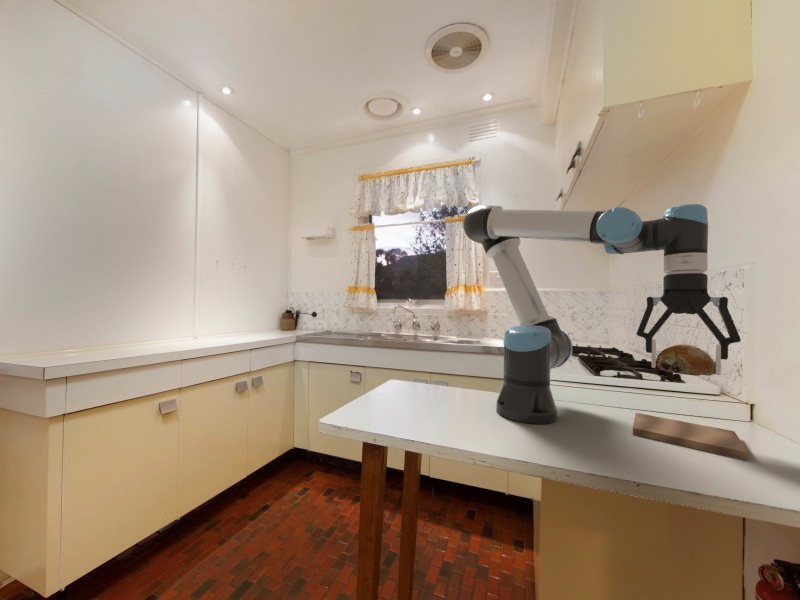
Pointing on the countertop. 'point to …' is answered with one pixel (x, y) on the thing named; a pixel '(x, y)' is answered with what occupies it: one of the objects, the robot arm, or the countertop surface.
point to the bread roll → (685, 361)
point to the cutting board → (690, 435)
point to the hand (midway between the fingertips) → (683, 370)
